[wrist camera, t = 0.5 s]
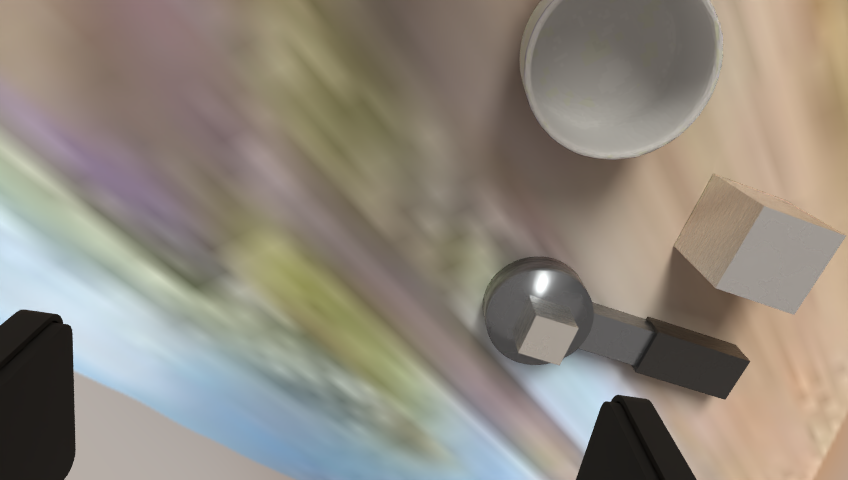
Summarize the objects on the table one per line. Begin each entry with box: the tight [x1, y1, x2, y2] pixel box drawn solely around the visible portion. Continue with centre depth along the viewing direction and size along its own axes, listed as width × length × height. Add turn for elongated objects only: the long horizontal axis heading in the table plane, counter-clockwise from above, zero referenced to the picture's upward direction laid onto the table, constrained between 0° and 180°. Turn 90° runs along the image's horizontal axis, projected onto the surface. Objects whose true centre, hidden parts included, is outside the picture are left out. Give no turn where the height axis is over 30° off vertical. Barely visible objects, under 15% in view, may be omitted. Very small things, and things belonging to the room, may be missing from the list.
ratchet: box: [483, 257, 750, 399], centre depth 48 cm, size 21×8×6 cm, turn 70°
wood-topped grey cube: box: [674, 174, 846, 314], centre depth 44 cm, size 6×6×7 cm
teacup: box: [520, 0, 723, 160], centre depth 38 cm, size 14×11×8 cm
